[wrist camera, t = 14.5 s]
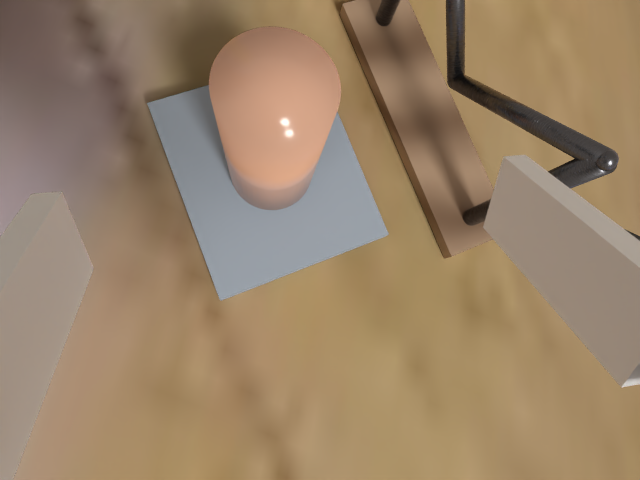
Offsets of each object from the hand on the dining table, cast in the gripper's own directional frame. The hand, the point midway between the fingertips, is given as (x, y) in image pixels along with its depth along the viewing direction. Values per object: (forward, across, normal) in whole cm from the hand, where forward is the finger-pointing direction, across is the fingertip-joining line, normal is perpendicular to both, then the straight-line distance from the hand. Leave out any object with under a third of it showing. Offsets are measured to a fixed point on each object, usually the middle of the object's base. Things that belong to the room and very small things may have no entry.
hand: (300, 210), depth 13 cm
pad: (+16, 0, -7) cm, 17 cm away
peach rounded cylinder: (+15, 0, -6) cm, 16 cm away
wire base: (+18, +12, -5) cm, 22 cm away
